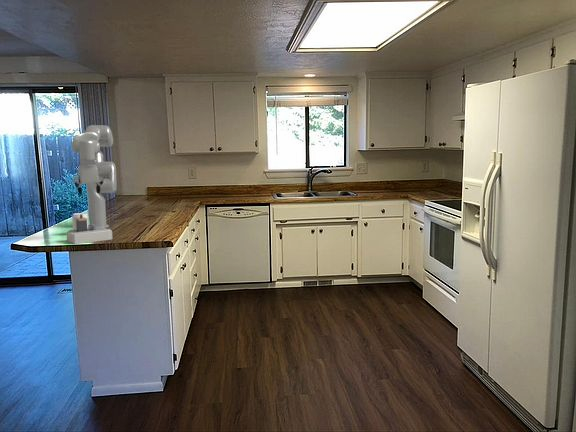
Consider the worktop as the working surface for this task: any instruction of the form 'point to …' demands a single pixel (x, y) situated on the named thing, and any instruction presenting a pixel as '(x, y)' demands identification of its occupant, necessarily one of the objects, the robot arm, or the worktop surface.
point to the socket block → (89, 235)
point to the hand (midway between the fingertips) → (89, 193)
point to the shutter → (93, 227)
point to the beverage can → (78, 217)
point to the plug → (81, 224)
